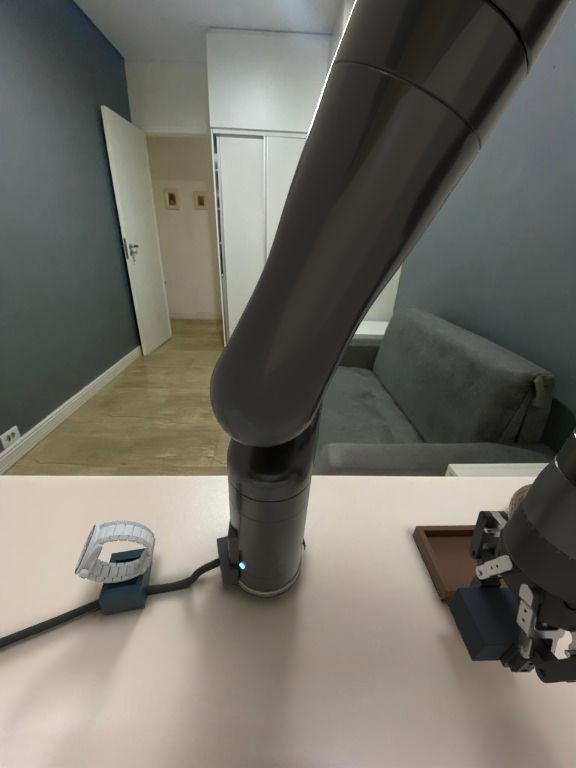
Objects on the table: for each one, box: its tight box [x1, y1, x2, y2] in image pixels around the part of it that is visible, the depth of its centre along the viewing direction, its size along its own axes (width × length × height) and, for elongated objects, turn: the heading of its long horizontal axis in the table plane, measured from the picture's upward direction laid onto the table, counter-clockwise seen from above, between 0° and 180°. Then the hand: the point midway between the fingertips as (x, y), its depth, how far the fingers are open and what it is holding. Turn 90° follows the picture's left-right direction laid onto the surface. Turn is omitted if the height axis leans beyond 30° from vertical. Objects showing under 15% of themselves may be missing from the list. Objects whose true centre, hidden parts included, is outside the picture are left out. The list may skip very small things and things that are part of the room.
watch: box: [74, 519, 157, 616], centre depth 36 cm, size 6×8×11 cm
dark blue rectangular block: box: [447, 587, 520, 662], centre depth 31 cm, size 7×5×4 cm
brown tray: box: [412, 524, 508, 601], centre depth 43 cm, size 12×9×2 cm
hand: (492, 628), depth 32 cm, fingers closed on dark blue rectangular block, 5 cm apart
